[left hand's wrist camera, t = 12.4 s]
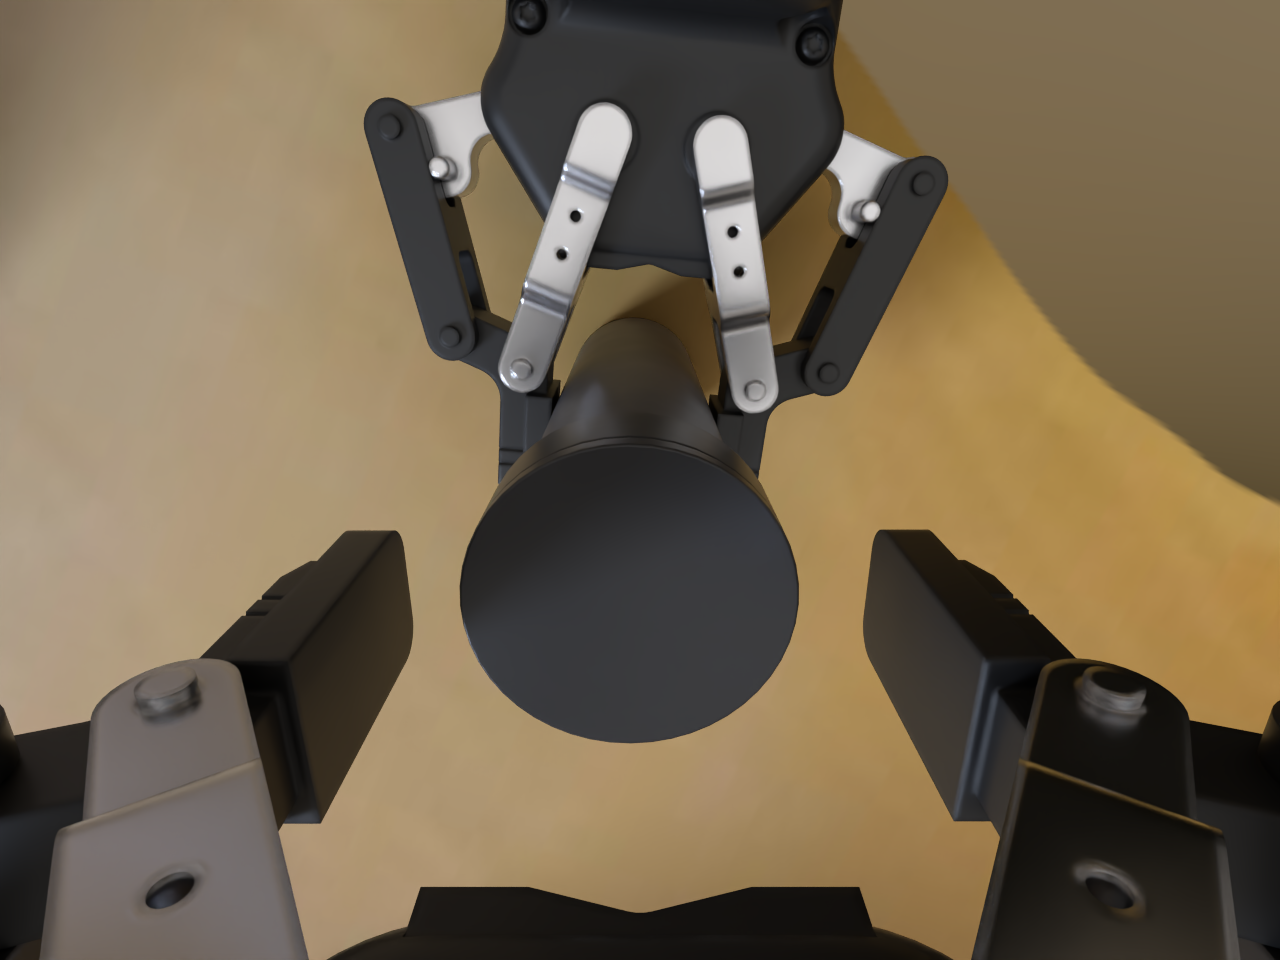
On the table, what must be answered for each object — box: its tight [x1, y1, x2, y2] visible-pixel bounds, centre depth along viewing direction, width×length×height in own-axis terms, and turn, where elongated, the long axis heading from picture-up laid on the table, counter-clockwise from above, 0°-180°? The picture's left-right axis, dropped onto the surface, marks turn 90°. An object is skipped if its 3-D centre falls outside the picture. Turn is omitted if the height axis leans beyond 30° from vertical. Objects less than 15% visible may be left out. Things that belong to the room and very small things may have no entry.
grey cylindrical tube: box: [542, 318, 723, 442], centre depth 18 cm, size 4×4×16 cm
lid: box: [460, 412, 799, 743], centre depth 11 cm, size 5×5×2 cm
